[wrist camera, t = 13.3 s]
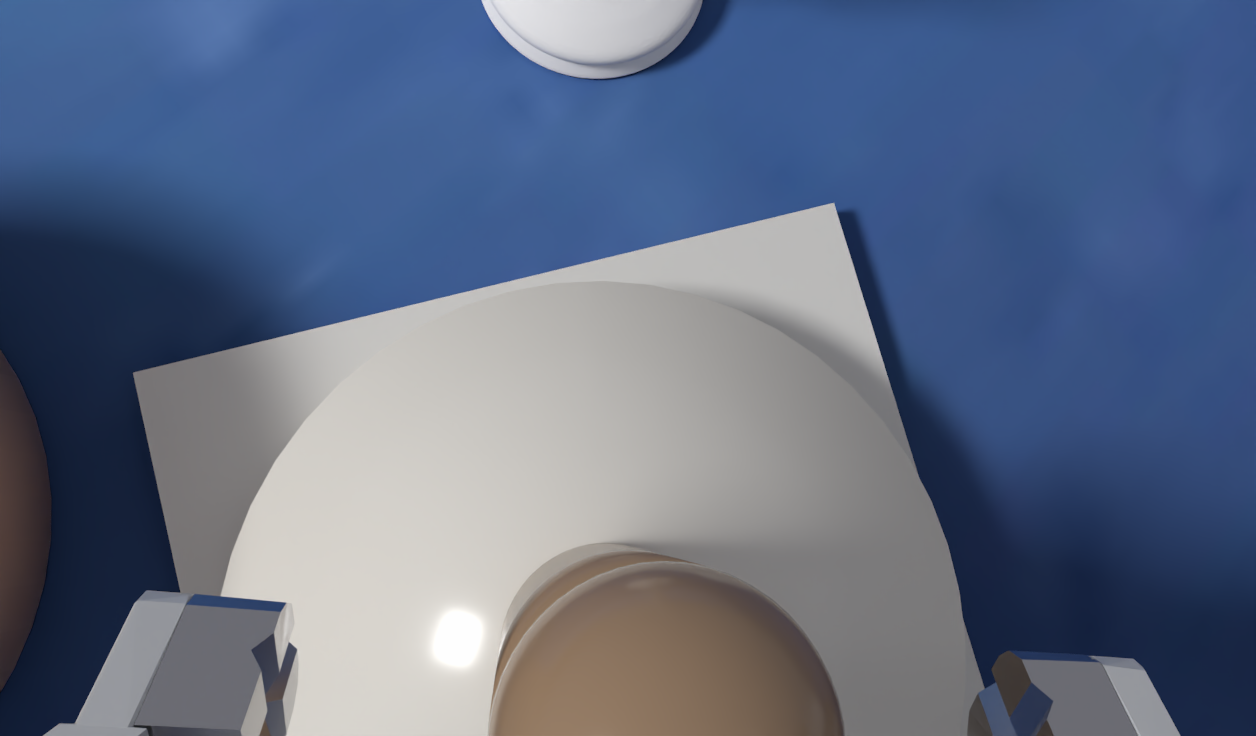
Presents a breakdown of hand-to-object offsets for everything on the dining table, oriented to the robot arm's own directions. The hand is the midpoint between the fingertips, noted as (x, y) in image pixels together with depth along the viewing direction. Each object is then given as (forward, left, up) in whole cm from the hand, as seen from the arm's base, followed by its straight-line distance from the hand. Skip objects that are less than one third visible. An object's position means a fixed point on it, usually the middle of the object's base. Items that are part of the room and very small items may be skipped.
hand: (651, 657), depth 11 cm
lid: (0, +1, -7) cm, 7 cm away
